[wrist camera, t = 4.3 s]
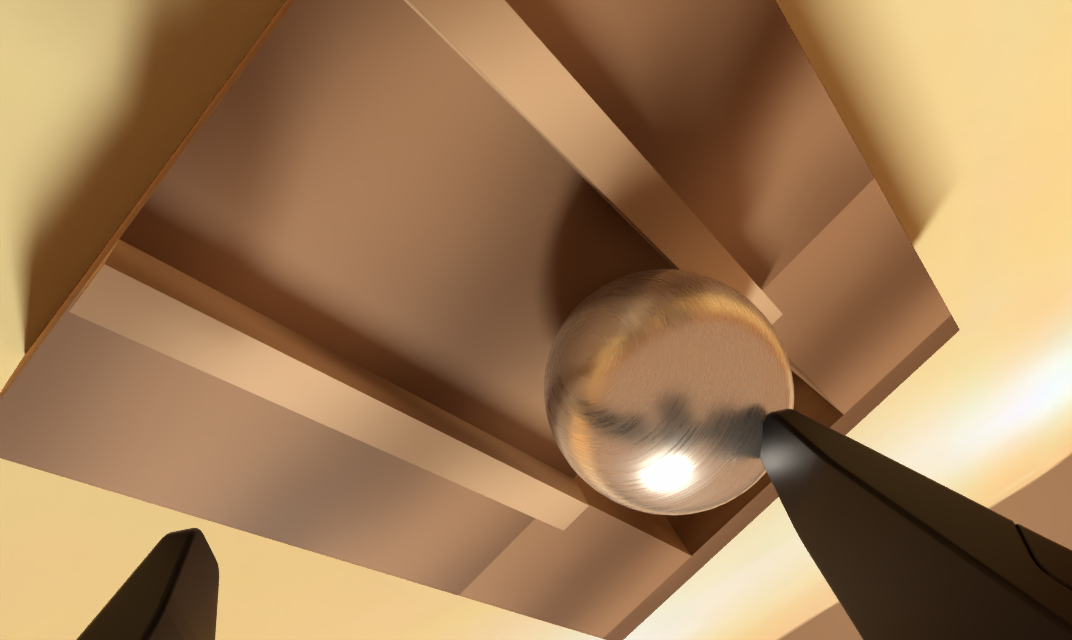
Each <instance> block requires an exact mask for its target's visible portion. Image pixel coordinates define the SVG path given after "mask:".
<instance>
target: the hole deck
mask: <svg viewBox="0 0 1072 640" xmlns="http://www.w3.org/2000/svg"><path fill="white" fill-rule="evenodd" d="M657 269H676V270H684V271H690V272H696V273H699V274H702V275H705V276H708V277H711V278H714V279H717V280H719V281H721V282H723V283H725V284H727V285H728V286H730V287H732V288H734V289H735V290H737V291H738V292H740V293H741V294H742V295H744V296H745V297H746V298H748V299H749V300H750V301H751V302H752V303H753V304H754V305H755V306H756V307H757V308H758V309H759V310H760V311H761V312H762V313H763V314H764V315H765V316H766V317H767V319H768V320H769V322H770V323H771V324H772V326H773V327H774V329H775V330H776V332H777V334H778V336H779V338H780V340H781V341H782V343H783V345H784V347H785V350H786V353H787V356H788V359H789V362H790V367H791V372H792V377H793V383H794V406H793V410H796V411H798V412H800V413H802V414H804V415H806V416H808V417H810V418H812V419H814V420H816V421H818V422H820V423H822V424H823V425H825V426H827V427H829V428H831V429H833V430H835V431H837V432H839V433H841V434H843V435H846V434H847V433H848V432H849V431H850V430H851V429H853V428H854V427H855V426H856V425H857V424H858V423H859V422H860V421H861V420H862V419H863V418H865V417H866V416H867V415H868V414H869V413H870V412H871V411H872V410H873V409H874V408H875V407H876V406H878V405H879V404H880V403H881V402H882V401H883V400H884V399H885V398H886V397H887V396H888V395H889V394H891V393H892V392H893V391H894V390H895V389H896V388H897V387H898V386H899V385H900V384H901V383H903V382H904V381H905V380H906V379H907V378H908V377H909V376H910V375H911V374H912V373H913V372H914V371H916V370H917V369H918V368H919V367H920V366H921V365H922V364H923V363H924V362H925V361H926V360H928V359H929V358H930V357H931V356H932V355H933V354H934V353H935V352H936V351H937V350H938V349H939V348H941V347H942V346H943V345H944V344H945V343H946V342H947V341H948V340H949V339H950V338H951V337H952V336H954V335H955V334H956V333H957V332H958V331H959V328H958V326H957V324H956V322H955V321H954V319H953V317H952V315H951V314H950V312H949V310H948V308H947V306H946V305H945V303H944V301H943V299H942V297H941V296H940V294H939V292H938V290H937V289H936V287H935V285H934V283H933V281H932V280H931V278H930V276H929V274H928V272H927V271H926V269H925V267H924V265H923V263H922V262H921V260H920V258H919V256H918V255H917V253H916V251H915V249H914V247H913V246H912V244H911V242H910V240H909V238H908V237H907V235H906V233H905V231H904V230H903V228H902V226H901V224H900V222H899V221H898V219H897V217H896V215H895V213H894V212H893V210H892V208H891V206H890V205H889V203H888V201H887V199H886V197H885V196H884V194H883V192H882V190H881V188H880V187H879V185H878V183H877V181H876V180H875V178H874V176H873V174H872V172H871V171H870V169H869V167H868V165H867V163H866V162H865V160H864V158H863V156H862V155H861V153H860V151H859V149H858V147H857V146H856V144H855V142H854V140H853V138H852V137H851V135H850V133H849V131H848V130H847V128H846V126H845V124H844V122H843V121H842V119H841V117H840V115H839V113H838V112H837V110H836V108H835V106H834V104H833V103H832V101H831V99H830V97H829V96H828V94H827V92H826V90H825V88H824V87H823V85H822V83H821V81H820V79H819V78H818V76H817V74H816V72H815V71H814V69H813V67H812V65H811V63H810V62H809V60H808V58H807V56H806V54H805V53H804V51H803V49H802V47H801V46H800V44H799V42H798V40H797V38H796V37H795V35H794V33H793V31H792V29H791V28H790V26H789V24H788V22H787V21H786V19H785V17H784V15H783V13H782V12H781V10H780V8H779V6H778V4H777V3H776V1H775V0H286V1H285V3H284V4H283V5H282V7H281V8H280V9H279V11H278V12H277V14H276V15H275V16H274V18H273V19H272V20H271V22H270V23H269V24H268V26H267V27H266V28H265V30H264V31H263V33H262V34H261V35H260V37H259V38H258V39H257V41H256V42H255V43H254V45H253V46H252V47H251V49H250V50H249V52H248V53H247V54H246V56H245V57H244V58H243V60H242V61H241V62H240V64H239V65H238V66H237V68H236V69H235V71H234V72H233V73H232V75H231V76H230V77H229V79H228V80H227V81H226V83H225V84H224V85H223V87H222V88H221V90H220V91H219V92H218V94H217V95H216V96H215V98H214V99H213V100H212V102H211V103H210V104H209V106H208V107H207V109H206V110H205V111H204V113H203V114H202V115H201V117H200V118H199V119H198V121H197V122H196V124H195V125H194V126H193V128H192V129H191V130H190V132H189V133H188V134H187V136H186V137H185V138H184V140H183V141H182V143H181V144H180V145H179V147H178V148H177V149H176V151H175V152H174V153H173V155H172V156H171V157H170V159H169V160H168V162H167V163H166V164H165V166H164V167H163V168H162V170H161V171H160V172H159V174H158V175H157V176H156V178H155V179H154V181H153V182H152V183H151V185H150V186H149V187H148V189H147V190H146V191H145V193H144V194H143V195H142V197H141V198H140V200H139V201H138V202H137V204H136V205H135V206H134V208H133V209H132V210H131V212H130V213H129V214H128V216H127V217H126V219H125V220H124V221H123V223H122V224H121V225H120V227H119V228H118V229H117V231H116V232H115V234H114V235H113V236H112V238H111V239H110V240H109V242H108V243H107V244H106V246H105V247H104V248H103V250H102V251H101V253H100V254H99V255H98V257H97V258H96V259H95V261H94V262H93V263H92V265H91V266H90V267H89V269H88V270H87V272H86V273H85V274H84V276H83V277H82V278H81V280H80V281H79V282H78V284H77V285H76V286H75V288H74V289H73V291H72V292H71V293H70V295H69V296H68V297H67V299H66V300H65V301H64V303H63V304H62V305H61V307H60V308H59V310H58V311H57V312H56V314H55V315H54V316H53V318H52V319H51V320H50V322H49V323H48V324H47V326H46V327H45V329H44V330H43V331H42V333H41V334H40V335H39V337H38V338H37V339H36V341H35V342H34V344H33V345H32V346H31V348H30V349H29V350H28V352H27V353H26V354H25V356H24V357H23V359H22V360H21V362H20V363H19V365H18V366H17V368H16V369H15V371H14V373H13V374H12V376H11V377H10V379H9V380H8V382H7V383H6V385H5V386H4V388H3V389H2V391H1V393H0V458H2V459H6V460H9V461H12V462H16V463H19V464H22V465H26V466H29V467H32V468H36V469H39V470H42V471H46V472H49V473H52V474H56V475H59V476H62V477H66V478H69V479H72V480H76V481H79V482H82V483H86V484H89V485H92V486H96V487H99V488H102V489H106V490H109V491H112V492H116V493H119V494H122V495H126V496H129V497H132V498H136V499H139V500H142V501H146V502H149V503H152V504H156V505H159V506H162V507H166V508H169V509H172V510H176V511H179V512H182V513H186V514H189V515H192V516H196V517H199V518H202V519H206V520H209V521H212V522H216V523H219V524H222V525H226V526H229V527H232V528H236V529H239V530H242V531H246V532H249V533H252V534H256V535H259V536H262V537H266V538H269V539H272V540H276V541H279V542H282V543H286V544H289V545H292V546H296V547H299V548H302V549H306V550H309V551H312V552H316V553H319V554H322V555H326V556H329V557H332V558H336V559H339V560H342V561H346V562H349V563H352V564H356V565H359V566H362V567H366V568H369V569H372V570H376V571H379V572H382V573H386V574H389V575H392V576H396V577H399V578H402V579H406V580H409V581H412V582H416V583H419V584H422V585H426V586H429V587H432V588H436V589H439V590H442V591H446V592H449V593H452V594H456V595H459V596H462V597H466V598H469V599H472V600H476V601H479V602H482V603H486V604H489V605H492V606H496V607H499V608H502V609H506V610H509V611H512V612H516V613H519V614H522V615H526V616H529V617H532V618H536V619H539V620H542V621H546V622H549V623H552V624H556V625H559V626H562V627H566V628H569V629H572V630H576V631H579V632H582V633H586V634H589V635H592V636H596V637H599V638H602V639H606V640H623V639H624V638H626V637H627V636H628V635H629V634H630V633H631V632H632V631H633V630H634V629H635V628H636V627H638V626H639V625H640V624H641V623H642V622H643V621H644V620H645V619H646V618H647V617H648V616H649V615H651V614H652V613H653V612H654V611H655V610H656V609H657V608H658V607H659V606H660V605H661V604H662V603H664V602H665V601H666V600H667V599H668V598H669V597H670V596H671V595H672V594H673V593H674V592H676V591H677V590H678V589H679V588H680V587H681V586H682V585H683V584H684V583H685V582H686V581H687V580H689V579H690V578H691V577H692V576H693V575H694V574H695V573H696V572H697V571H698V570H699V569H701V568H702V567H703V566H704V565H705V564H706V563H707V562H708V561H709V560H710V559H711V558H712V557H714V556H715V555H716V554H717V553H718V552H719V551H720V550H721V549H722V548H723V547H724V546H725V545H727V544H728V543H729V542H730V541H731V540H732V539H733V538H734V537H735V536H736V535H737V534H739V533H740V532H741V531H742V530H743V529H744V528H745V527H746V526H747V525H748V524H749V523H750V522H752V521H753V520H754V519H755V518H756V517H757V516H758V515H759V514H760V513H761V512H762V511H764V510H765V509H766V508H767V507H768V506H769V505H770V504H771V503H772V502H773V501H774V500H775V499H777V498H778V497H779V496H778V494H777V492H776V490H775V488H774V486H773V484H772V481H771V479H770V477H769V475H768V473H767V472H766V473H765V474H764V475H763V476H762V477H761V478H760V479H759V480H758V481H757V482H756V483H755V484H754V485H753V486H752V487H750V488H749V489H748V490H747V491H745V492H744V493H742V494H741V495H739V496H737V497H736V498H734V499H732V500H731V501H729V502H727V503H725V504H723V505H720V506H718V507H716V508H713V509H710V510H706V511H702V512H698V513H693V514H685V515H660V514H651V513H646V512H641V511H637V510H634V509H631V508H628V507H626V506H623V505H621V504H618V503H616V502H614V501H613V500H611V499H609V498H608V497H606V496H604V495H602V494H601V493H599V492H597V491H596V490H595V489H594V488H592V487H591V486H590V485H589V484H588V483H586V482H585V481H584V480H583V479H582V478H581V477H580V476H579V475H578V474H577V473H576V472H575V470H574V469H573V468H572V467H571V466H570V464H569V463H568V461H567V460H566V458H565V457H564V455H563V454H562V452H561V451H560V449H559V447H558V445H557V443H556V441H555V439H554V437H553V434H552V431H551V428H550V425H549V422H548V419H547V414H546V410H545V400H544V376H545V369H546V364H547V359H548V356H549V353H550V349H551V347H552V345H553V342H554V340H555V338H556V336H557V334H558V332H559V330H560V328H561V327H562V325H563V323H564V322H565V320H566V319H567V318H568V316H569V315H570V314H571V312H572V311H573V310H574V309H575V308H576V307H577V306H578V305H579V304H580V303H581V302H582V301H583V300H584V299H586V298H587V297H588V296H589V295H591V294H592V293H593V292H595V291H596V290H598V289H599V288H600V287H602V286H604V285H606V284H607V283H609V282H611V281H614V280H616V279H618V278H621V277H624V276H626V275H629V274H633V273H637V272H641V271H649V270H657Z"/></svg>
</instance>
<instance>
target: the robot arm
mask: <svg viewBox="0 0 1072 640" xmlns="http://www.w3.org/2000/svg"><path fill="white" fill-rule="evenodd" d="M760 459H761V461H762V463H763V465H764V467H765V469H766V471H767V473H768V475H769V477H770V479H771V481H772V484H773V486H774V488H775V490H776V492H777V494H778V496H779V498H780V500H781V502H782V504H783V506H784V508H785V510H786V512H787V514H788V516H789V518H790V520H791V522H792V524H793V526H794V528H795V530H796V532H797V533H798V535H799V537H800V539H801V541H802V542H803V544H804V546H805V547H806V549H807V551H808V552H809V554H810V555H811V557H812V559H813V560H814V562H815V563H816V565H817V567H818V568H819V570H820V571H821V573H822V575H823V576H824V578H825V579H826V581H827V583H828V584H829V586H830V587H831V589H832V591H833V592H834V594H835V595H836V597H837V598H838V600H839V602H840V603H841V605H842V606H843V608H844V610H845V611H846V613H847V614H848V616H849V617H850V619H851V621H852V622H853V624H854V625H855V627H856V629H857V630H858V632H859V634H860V635H861V637H862V638H863V640H1072V550H1070V549H1068V548H1066V547H1064V546H1062V545H1060V544H1058V543H1056V542H1054V541H1052V540H1050V539H1047V538H1045V537H1043V536H1042V535H1040V534H1038V533H1036V532H1034V531H1032V530H1030V529H1028V528H1026V527H1023V526H1022V525H1020V524H1014V522H1013V521H1012V520H1010V519H1008V518H1006V517H1004V516H1002V515H1000V514H998V513H996V512H994V511H992V510H990V509H988V508H986V507H984V506H982V505H980V504H979V503H977V502H975V501H973V500H971V499H969V498H967V497H965V496H963V495H961V494H959V493H957V492H955V491H953V490H951V489H949V488H947V487H945V486H943V485H941V484H939V483H937V482H935V481H933V480H931V479H929V478H927V477H926V476H924V475H922V474H920V473H918V472H916V471H914V470H912V469H910V468H908V467H906V466H904V465H902V464H900V463H898V462H896V461H894V460H892V459H890V458H888V457H886V456H884V455H882V454H880V453H878V452H876V451H874V450H873V449H871V448H869V447H867V446H865V445H863V444H861V443H859V442H857V441H855V440H853V439H851V438H849V437H847V436H845V435H843V434H841V433H839V432H837V431H835V430H833V429H831V428H829V427H827V426H825V425H823V424H822V423H820V422H818V421H816V420H814V419H812V418H810V417H808V416H806V415H804V414H802V413H800V412H798V411H796V410H793V409H783V410H778V411H773V412H770V413H769V414H768V415H767V416H766V418H765V422H764V426H763V433H762V444H761V455H760ZM218 587H219V568H218V564H217V561H216V559H215V557H214V555H213V553H212V551H211V549H210V547H209V545H208V543H207V541H206V539H205V537H204V535H203V533H202V532H201V530H199V529H197V528H191V529H186V530H181V531H176V532H171V533H169V534H167V535H166V536H164V537H163V538H162V539H161V540H160V541H159V543H158V544H157V545H156V546H155V547H154V548H153V550H152V551H151V552H150V553H149V554H148V556H147V557H146V558H145V559H144V560H143V561H142V563H141V564H140V565H139V566H138V567H137V569H136V570H135V571H134V572H133V573H132V575H131V576H130V577H129V578H128V579H127V580H126V582H125V583H124V584H123V585H122V586H121V588H120V589H119V590H118V591H117V592H116V593H115V595H114V596H113V597H112V598H111V599H110V601H109V602H108V603H107V604H106V605H105V606H104V608H103V609H102V610H101V611H100V612H99V614H98V615H97V616H96V617H95V618H94V619H93V621H92V622H91V623H90V624H89V625H88V627H87V628H86V629H85V630H84V631H83V633H82V634H81V635H80V636H79V637H78V638H77V640H215V632H216V617H217V602H218Z"/></svg>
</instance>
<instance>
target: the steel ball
mask: <svg viewBox="0 0 1072 640" xmlns="http://www.w3.org/2000/svg"><path fill="white" fill-rule="evenodd" d="M544 400H545V410H546V414H547V419H548V422H549V425H550V428H551V431H552V434H553V437H554V439H555V441H556V443H557V445H558V447H559V449H560V451H561V452H562V454H563V455H564V457H565V458H566V460H567V461H568V463H569V464H570V466H571V467H572V468H573V469H574V470H575V472H576V473H577V474H578V475H579V476H580V477H581V478H582V479H583V480H584V481H585V482H586V483H588V484H589V485H590V486H591V487H592V488H594V489H595V490H596V491H597V492H599V493H601V494H602V495H604V496H606V497H608V498H609V499H611V500H613V501H614V502H616V503H618V504H621V505H623V506H626V507H628V508H631V509H634V510H637V511H641V512H646V513H651V514H660V515H685V514H693V513H698V512H702V511H706V510H710V509H713V508H716V507H718V506H720V505H723V504H725V503H727V502H729V501H731V500H732V499H734V498H736V497H737V496H739V495H741V494H742V493H744V492H745V491H747V490H748V489H749V488H750V487H752V486H753V485H754V484H755V483H756V482H757V481H758V480H759V479H760V478H761V477H762V476H763V475H764V474H765V473H766V472H767V471H766V469H765V467H764V465H763V463H762V461H761V459H760V455H761V444H762V433H763V426H764V422H765V418H766V416H767V415H768V414H769V413H770V412H773V411H778V410H783V409H793V406H794V383H793V377H792V372H791V367H790V362H789V359H788V356H787V353H786V350H785V347H784V345H783V343H782V341H781V340H780V338H779V336H778V334H777V332H776V330H775V329H774V327H773V326H772V324H771V323H770V322H769V320H768V319H767V317H766V316H765V315H764V314H763V313H762V312H761V311H760V310H759V309H758V308H757V307H756V306H755V305H754V304H753V303H752V302H751V301H750V300H749V299H748V298H746V297H745V296H744V295H742V294H741V293H740V292H738V291H737V290H735V289H734V288H732V287H730V286H728V285H727V284H725V283H723V282H721V281H719V280H717V279H714V278H711V277H708V276H705V275H702V274H699V273H696V272H690V271H684V270H676V269H657V270H649V271H641V272H637V273H633V274H629V275H626V276H624V277H621V278H618V279H616V280H614V281H611V282H609V283H607V284H606V285H604V286H602V287H600V288H599V289H598V290H596V291H595V292H593V293H592V294H591V295H589V296H588V297H587V298H586V299H584V300H583V301H582V302H581V303H580V304H579V305H578V306H577V307H576V308H575V309H574V310H573V311H572V312H571V314H570V315H569V316H568V318H567V319H566V320H565V322H564V323H563V325H562V327H561V328H560V330H559V332H558V334H557V336H556V338H555V340H554V342H553V345H552V347H551V349H550V353H549V356H548V359H547V364H546V369H545V376H544Z"/></svg>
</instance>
